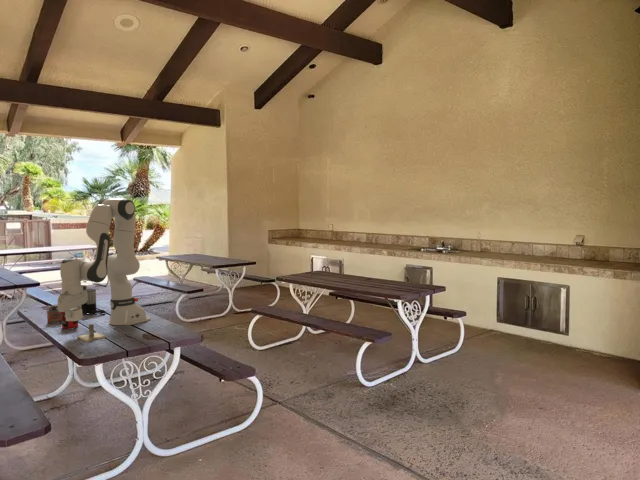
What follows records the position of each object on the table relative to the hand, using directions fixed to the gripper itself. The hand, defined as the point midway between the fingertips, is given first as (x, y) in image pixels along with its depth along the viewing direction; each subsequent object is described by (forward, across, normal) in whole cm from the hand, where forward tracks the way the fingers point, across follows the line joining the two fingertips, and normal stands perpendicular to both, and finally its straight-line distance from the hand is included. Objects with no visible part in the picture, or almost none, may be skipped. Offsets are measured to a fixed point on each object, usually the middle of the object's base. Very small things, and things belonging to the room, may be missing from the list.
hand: (74, 316), depth 244 cm
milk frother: (+13, +50, +20) cm, 56 cm away
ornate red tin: (+11, +26, +29) cm, 40 cm away
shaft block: (+11, -3, -10) cm, 15 cm away
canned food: (+11, +16, +14) cm, 24 cm away
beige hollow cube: (+2, 0, 0) cm, 2 cm away
